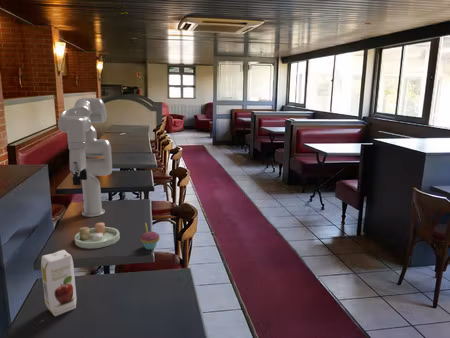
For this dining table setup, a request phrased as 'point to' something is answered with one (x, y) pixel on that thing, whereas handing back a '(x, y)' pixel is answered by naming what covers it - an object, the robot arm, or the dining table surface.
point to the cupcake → (149, 239)
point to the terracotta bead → (100, 228)
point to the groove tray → (98, 238)
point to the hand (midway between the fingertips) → (80, 182)
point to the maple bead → (84, 233)
